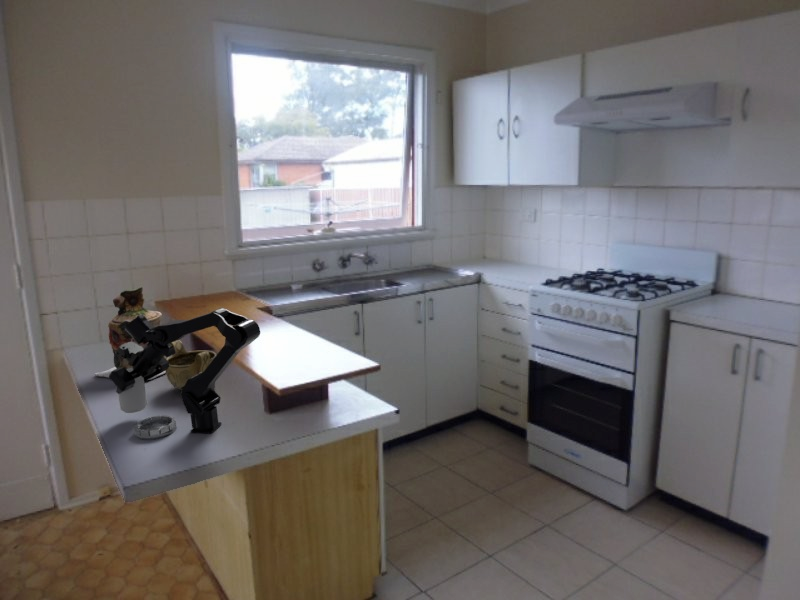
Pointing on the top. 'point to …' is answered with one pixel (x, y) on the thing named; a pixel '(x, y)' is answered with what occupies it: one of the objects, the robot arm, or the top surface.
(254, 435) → the top surface
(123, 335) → the cookie jar
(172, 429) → the rosette plate
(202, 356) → the ceramic bowl
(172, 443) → the top surface
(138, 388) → the can
